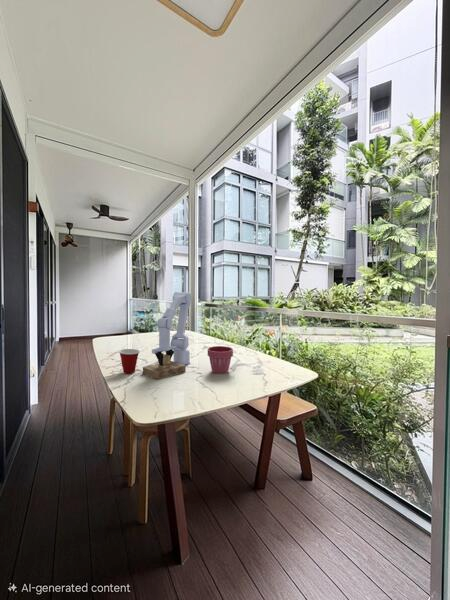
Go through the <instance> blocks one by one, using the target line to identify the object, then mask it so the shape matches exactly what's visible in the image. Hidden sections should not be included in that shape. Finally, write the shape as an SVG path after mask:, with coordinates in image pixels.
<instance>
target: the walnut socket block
mask: <svg viewBox="0 0 450 600" xmlns="http://www.w3.org/2000/svg"><path fill="white" fill-rule="evenodd" d="M186 365H187V364H186ZM186 365H182V364H179V363H176V362H174V360H171V361H170V367H166V368H161V367H160V365H159V363H155V364H150V365H145V366H142V375H143V374H144V375H145V376H148V377H150V378H153V379H155V380H160V379H164V378H167V377H171V376H175V375H178V374H179V375H180V374H183V373H186V371H187V370H186V369H187V367H186Z"/></svg>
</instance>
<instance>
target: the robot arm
mask: <svg viewBox="0 0 450 600" xmlns="http://www.w3.org/2000/svg"><path fill="white" fill-rule="evenodd" d="M191 302H192V294H191V293H190V292H189V291H187V292H185V291H183V292H182V291H181V292H178V291H175V292H174V293H173V295H172V302H171V304H170V306H169V307H168V308H166V310H165V311H164V313H163V314H162V317H160V318H158V319H157V322H156V327H157V331H158V347H157V348H154V349H153V348H152V349H151V354H152V355H153V354H154V355H155V357H156V359H157V361H158V364H159V365H160V366H162V365H163V355H165V354H167V355H170V361H172V357H173V362H176V363H179V364H182V365H189V364H191V362H190V360H191V359H190V350H189V349H188V348H189V337H188V335H186V333H185V332H186V326H187V319H188V311H189V307H191ZM178 307H179V312H178V318H177V320H178V321H177V327H176V332H175V333H174V334H173V335H172V336H171V328H172V326H173V323H174V322H173V319H174V318H175V316H176V313H177V312H176V311H177V309H178ZM164 352H165V354H164Z"/></svg>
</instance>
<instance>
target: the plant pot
mask: <svg viewBox="0 0 450 600" xmlns="http://www.w3.org/2000/svg"><path fill="white" fill-rule="evenodd" d="M233 356H234V349H233V348H232V347H229V346H223V345H221V346H219V345H217V346H210V347H208V348H207V357H209V362H210V368H211V373H213V374H216V375H217V374H219V375H221V374H227V373H228V372H229V369H230V365H231V361H232V360H231V359H232V357H233Z"/></svg>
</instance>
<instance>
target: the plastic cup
mask: <svg viewBox="0 0 450 600" xmlns="http://www.w3.org/2000/svg"><path fill="white" fill-rule="evenodd" d="M140 352H141V351H140V350H139V349H134V348H124V349H123V348H122V349H120V350H119V351H118V353H119V355H120V361H121V366H122V372H123V373H124V374H125V373H126V374H127V375H129V374H133V373H135V372H136V367H137V363H138V357H139V355H140V354H139V353H140Z"/></svg>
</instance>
